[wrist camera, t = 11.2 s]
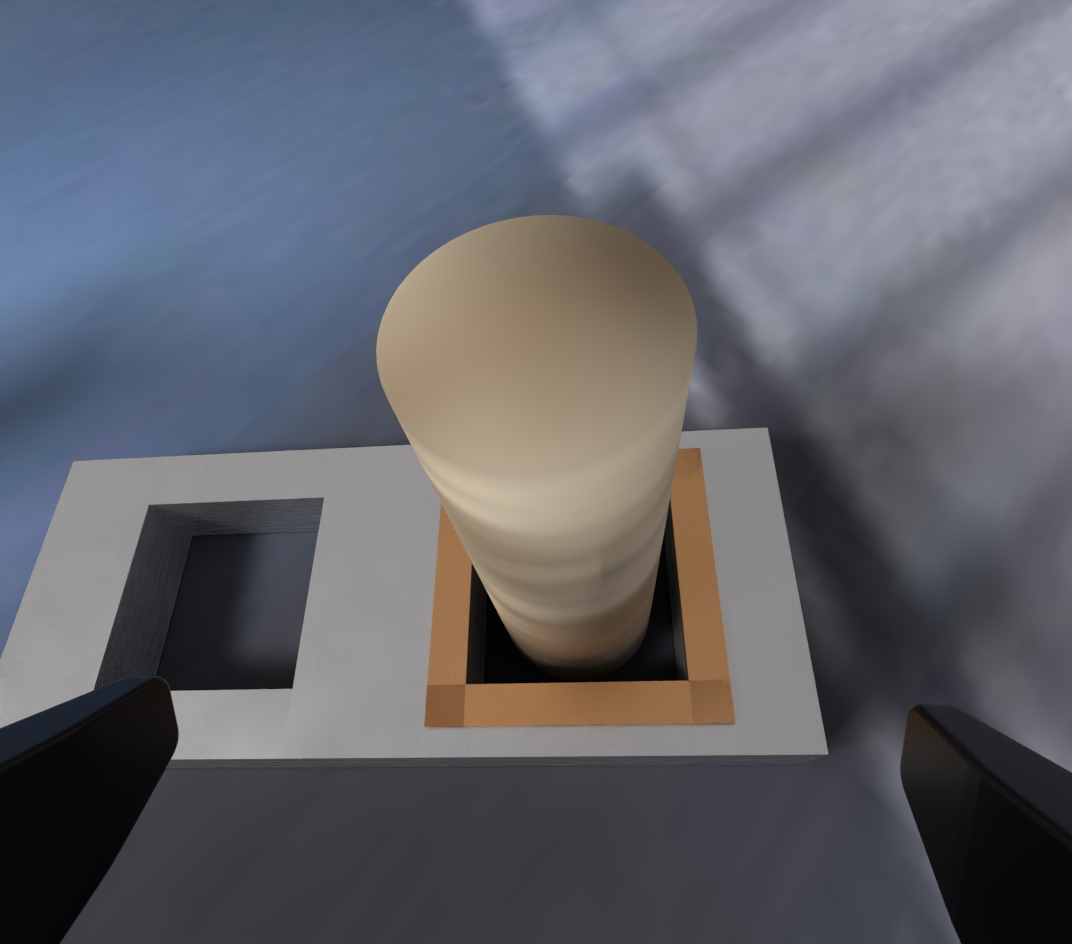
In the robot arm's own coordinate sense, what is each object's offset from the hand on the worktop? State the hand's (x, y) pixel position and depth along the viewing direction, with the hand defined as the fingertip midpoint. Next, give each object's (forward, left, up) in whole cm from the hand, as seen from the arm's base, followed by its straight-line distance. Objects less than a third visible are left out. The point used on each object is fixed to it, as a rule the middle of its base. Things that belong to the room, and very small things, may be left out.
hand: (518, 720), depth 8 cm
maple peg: (+3, -4, -12) cm, 13 cm away
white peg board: (+7, 0, -12) cm, 14 cm away
